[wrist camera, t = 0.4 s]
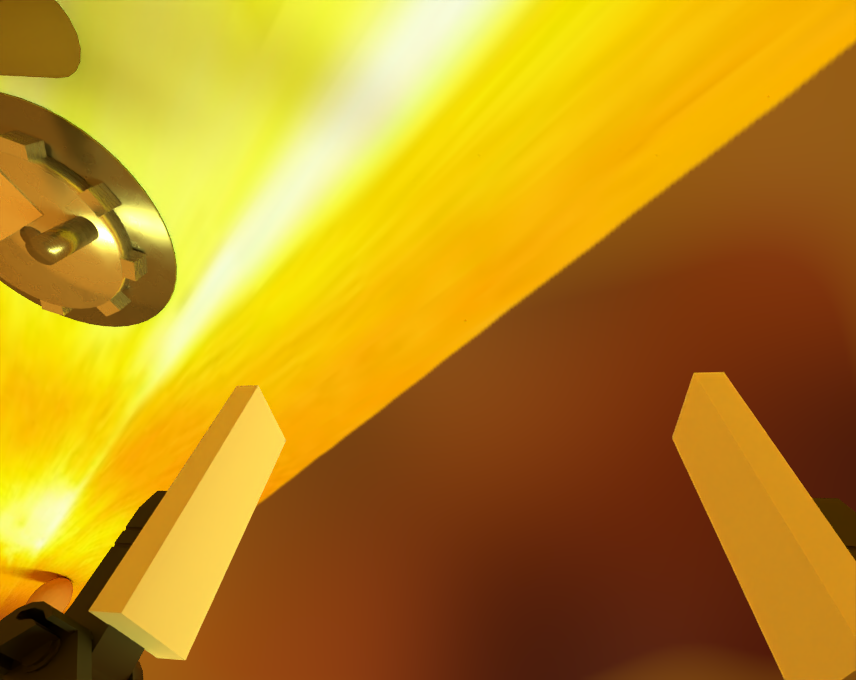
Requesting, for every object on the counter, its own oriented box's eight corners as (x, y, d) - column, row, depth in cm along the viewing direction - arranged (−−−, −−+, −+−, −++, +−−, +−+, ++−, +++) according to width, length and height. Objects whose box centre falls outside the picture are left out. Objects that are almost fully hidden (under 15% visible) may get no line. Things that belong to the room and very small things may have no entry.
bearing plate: (-149, 122, 37) (-157, 124, 37) (67, 59, 33) (61, 59, 32) (47, 335, 51) (43, 338, 51) (218, 312, 47) (215, 315, 46)
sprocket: (-105, 149, 38) (-204, 172, 33) (59, 106, 34) (-21, 122, 29) (45, 317, 49) (-10, 355, 43) (182, 297, 45) (141, 336, 40)
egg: (61, 584, 103) (24, 636, 95) (41, 570, 99) (0, 623, 90) (88, 586, 102) (53, 638, 94) (70, 572, 98) (30, 625, 89)
